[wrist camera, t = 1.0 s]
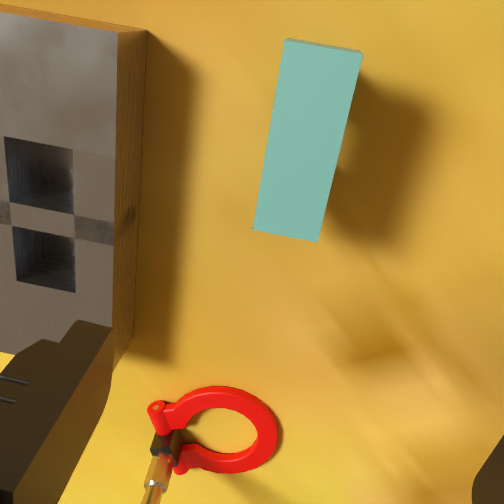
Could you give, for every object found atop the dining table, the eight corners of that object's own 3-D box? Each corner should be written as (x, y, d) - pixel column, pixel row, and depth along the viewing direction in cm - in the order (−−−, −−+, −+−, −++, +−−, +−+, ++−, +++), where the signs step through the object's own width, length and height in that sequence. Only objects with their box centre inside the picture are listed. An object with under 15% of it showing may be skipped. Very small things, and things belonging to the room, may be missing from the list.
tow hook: (264, 374, 34) (145, 391, 36) (248, 554, 23) (74, 567, 25) (288, 456, 38) (178, 468, 40) (285, 648, 26) (131, 654, 28)
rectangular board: (-2, 3, 25) (-55, 2, 21) (147, 29, 25) (117, 32, 21) (24, 314, 34) (-10, 349, 31) (133, 337, 34) (110, 375, 30)
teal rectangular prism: (293, 33, 24) (284, 40, 18) (353, 44, 24) (362, 54, 18) (267, 184, 28) (252, 229, 22) (318, 194, 27) (317, 242, 22)
